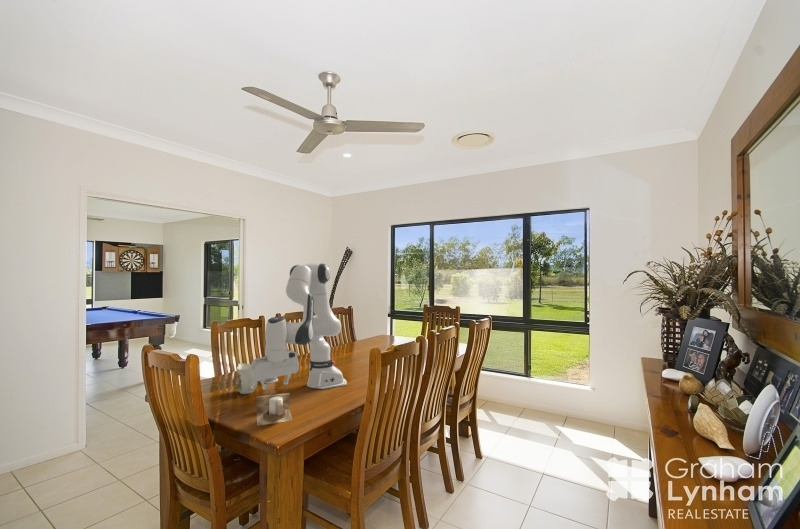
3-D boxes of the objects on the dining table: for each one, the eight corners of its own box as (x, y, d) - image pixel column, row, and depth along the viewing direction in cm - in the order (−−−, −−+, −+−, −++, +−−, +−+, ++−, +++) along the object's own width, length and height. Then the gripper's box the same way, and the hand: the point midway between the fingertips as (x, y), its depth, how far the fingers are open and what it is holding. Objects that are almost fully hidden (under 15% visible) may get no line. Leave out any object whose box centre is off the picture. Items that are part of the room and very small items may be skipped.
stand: (288, 410, 164) (289, 392, 165) (292, 424, 150) (292, 404, 150) (256, 414, 159) (256, 396, 159) (256, 429, 144) (257, 409, 144)
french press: (276, 377, 216) (277, 336, 216) (281, 382, 206) (282, 339, 207) (259, 379, 210) (260, 337, 211) (263, 384, 201) (264, 340, 201)
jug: (267, 415, 155) (267, 398, 155) (280, 412, 158) (280, 395, 158) (273, 423, 146) (273, 405, 147) (286, 420, 150) (287, 402, 150)
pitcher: (246, 399, 178) (246, 371, 178) (229, 391, 189) (229, 365, 190) (266, 393, 186) (266, 367, 187) (248, 386, 198) (249, 361, 198)
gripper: (254, 360, 144) (254, 394, 144) (300, 352, 158) (300, 383, 158) (248, 357, 149) (248, 390, 149) (294, 350, 163) (293, 380, 163)
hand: (275, 386), depth 154 cm, fingers open, 8 cm apart
